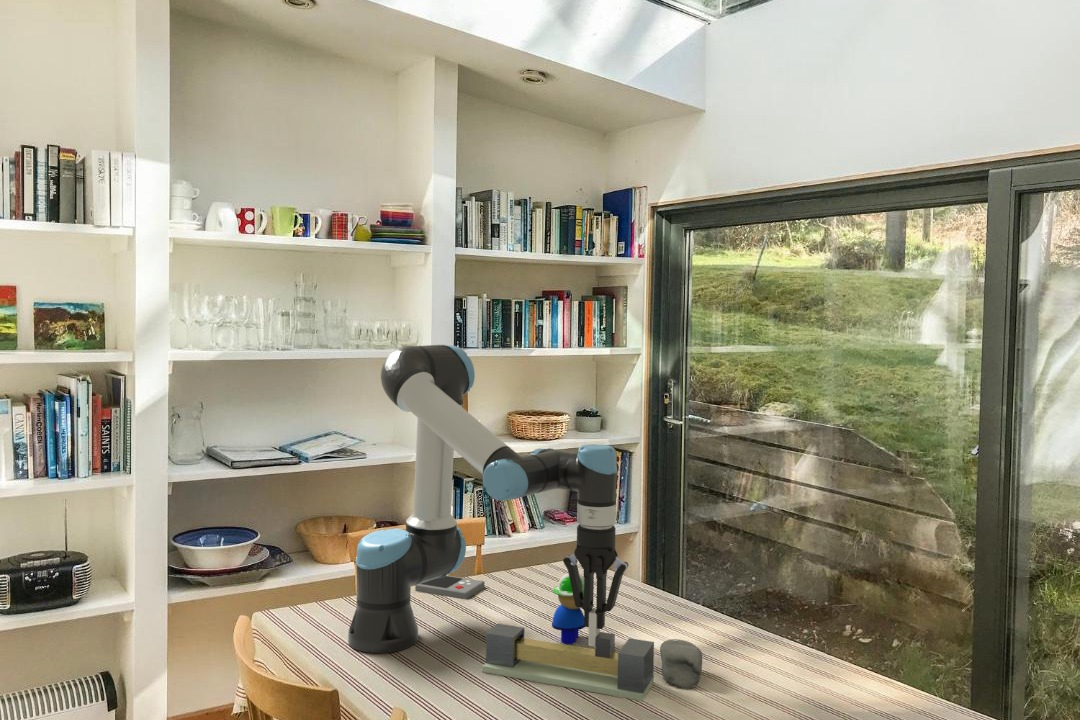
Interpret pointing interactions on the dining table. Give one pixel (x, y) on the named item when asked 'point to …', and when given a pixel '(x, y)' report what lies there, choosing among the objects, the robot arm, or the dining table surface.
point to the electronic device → (451, 587)
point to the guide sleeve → (502, 645)
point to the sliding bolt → (572, 654)
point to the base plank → (565, 678)
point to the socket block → (635, 665)
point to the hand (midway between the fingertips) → (594, 643)
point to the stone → (681, 663)
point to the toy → (568, 611)
